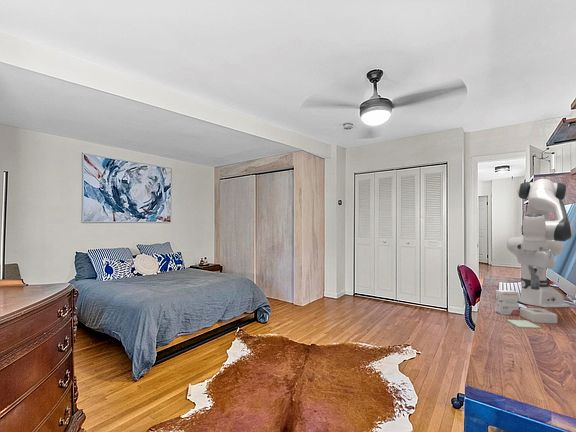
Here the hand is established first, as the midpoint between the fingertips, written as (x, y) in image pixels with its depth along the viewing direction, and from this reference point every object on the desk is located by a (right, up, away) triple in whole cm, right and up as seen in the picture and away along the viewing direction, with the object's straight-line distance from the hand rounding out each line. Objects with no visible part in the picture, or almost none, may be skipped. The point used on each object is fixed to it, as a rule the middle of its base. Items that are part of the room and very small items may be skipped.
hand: (535, 275), depth 141 cm
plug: (0, -7, 0) cm, 7 cm away
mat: (-11, -22, -6) cm, 25 cm away
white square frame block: (+3, -22, +1) cm, 22 cm away
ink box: (-5, -22, +11) cm, 25 cm away
